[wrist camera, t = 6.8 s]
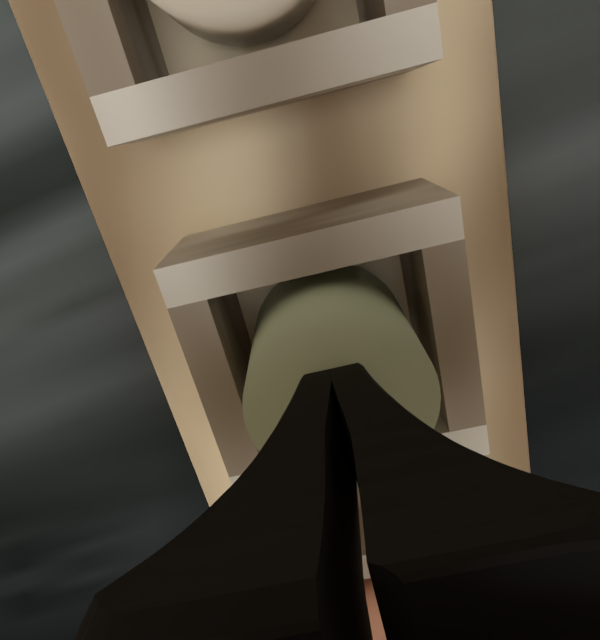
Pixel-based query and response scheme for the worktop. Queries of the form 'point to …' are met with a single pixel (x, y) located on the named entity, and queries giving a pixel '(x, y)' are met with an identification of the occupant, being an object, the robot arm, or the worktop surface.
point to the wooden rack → (295, 193)
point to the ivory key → (236, 18)
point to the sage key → (334, 345)
